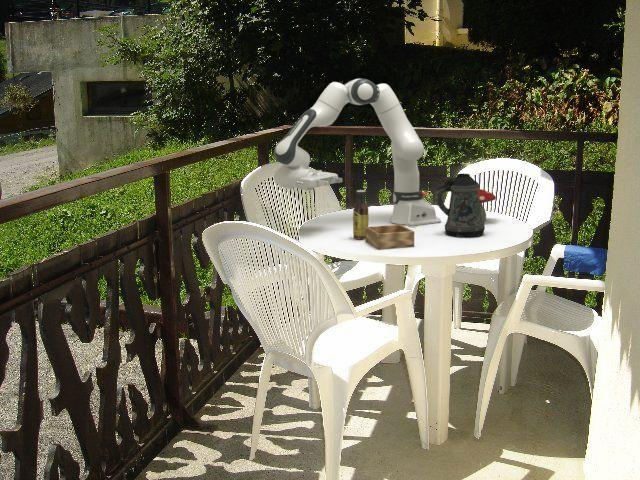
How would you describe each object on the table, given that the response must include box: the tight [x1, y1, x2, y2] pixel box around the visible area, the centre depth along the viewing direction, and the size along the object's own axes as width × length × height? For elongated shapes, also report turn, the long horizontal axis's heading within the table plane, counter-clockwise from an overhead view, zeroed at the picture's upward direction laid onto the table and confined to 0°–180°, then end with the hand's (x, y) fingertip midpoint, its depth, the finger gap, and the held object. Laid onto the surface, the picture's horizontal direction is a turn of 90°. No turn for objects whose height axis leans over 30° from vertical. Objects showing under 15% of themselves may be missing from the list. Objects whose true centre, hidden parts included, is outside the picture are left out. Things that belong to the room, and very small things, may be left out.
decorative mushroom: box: [478, 188, 497, 223], centre depth 347 cm, size 16×16×15 cm
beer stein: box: [435, 173, 486, 239], centre depth 321 cm, size 16×19×25 cm
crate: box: [365, 224, 415, 251], centre depth 307 cm, size 15×15×6 cm
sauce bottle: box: [352, 189, 370, 240], centre depth 317 cm, size 6×6×20 cm
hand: (335, 182), depth 320 cm, fingers open, 8 cm apart
